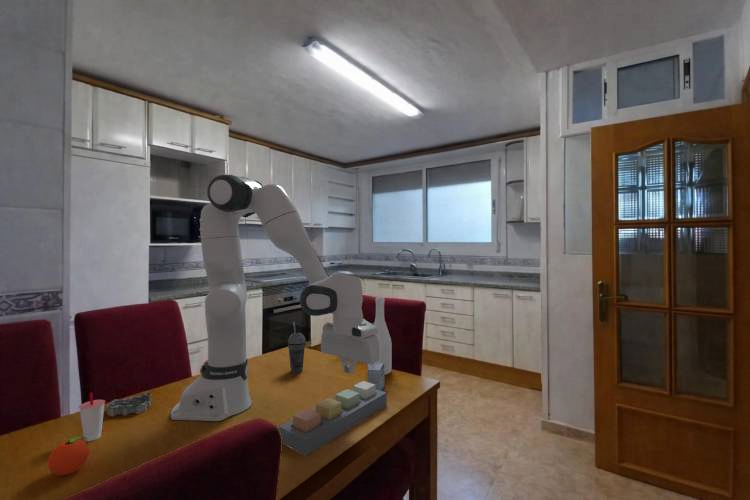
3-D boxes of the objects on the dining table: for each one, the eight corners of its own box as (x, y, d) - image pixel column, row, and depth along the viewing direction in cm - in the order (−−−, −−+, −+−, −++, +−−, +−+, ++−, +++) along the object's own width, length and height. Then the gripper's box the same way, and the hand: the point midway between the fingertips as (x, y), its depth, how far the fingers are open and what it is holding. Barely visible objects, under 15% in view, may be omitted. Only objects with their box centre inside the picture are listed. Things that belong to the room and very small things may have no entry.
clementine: (74, 458, 83) (73, 428, 83) (101, 460, 82) (101, 430, 82) (38, 481, 75) (38, 448, 75) (68, 483, 74) (68, 450, 74)
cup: (75, 445, 88) (75, 398, 88) (83, 435, 93) (83, 390, 93) (101, 440, 91) (101, 394, 90) (108, 430, 96) (107, 386, 95)
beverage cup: (303, 374, 138) (303, 323, 138) (285, 374, 138) (285, 323, 138) (307, 368, 145) (307, 319, 145) (290, 367, 145) (290, 319, 145)
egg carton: (153, 404, 112) (153, 391, 112) (143, 415, 105) (143, 401, 105) (116, 406, 110) (116, 393, 110) (102, 418, 103) (102, 404, 103)
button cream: (365, 401, 107) (365, 389, 107) (353, 396, 110) (353, 385, 110) (375, 395, 111) (375, 384, 111) (363, 391, 114) (363, 380, 114)
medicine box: (380, 396, 119) (380, 370, 118) (367, 394, 119) (367, 369, 119) (384, 386, 126) (384, 362, 126) (372, 385, 127) (372, 361, 127)
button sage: (348, 411, 101) (348, 398, 101) (335, 406, 104) (335, 394, 104) (359, 404, 105) (359, 393, 105) (346, 400, 108) (346, 388, 108)
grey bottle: (364, 369, 144) (364, 296, 144) (385, 366, 147) (386, 295, 147) (372, 377, 135) (373, 299, 135) (395, 374, 139) (395, 298, 138)
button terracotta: (306, 435, 88) (306, 421, 88) (292, 428, 91) (292, 415, 91) (320, 426, 92) (320, 413, 92) (307, 421, 95) (307, 408, 95)
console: (305, 456, 85) (305, 439, 84) (278, 441, 91) (278, 426, 90) (386, 405, 112) (386, 392, 112) (362, 396, 118) (362, 384, 118)
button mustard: (328, 422, 94) (328, 409, 94) (315, 416, 97) (315, 404, 97) (341, 415, 98) (341, 402, 98) (328, 409, 101) (328, 397, 101)
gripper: (315, 323, 108) (316, 368, 108) (368, 332, 95) (369, 383, 96) (330, 319, 113) (330, 362, 113) (382, 328, 100) (382, 376, 101)
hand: (348, 372), depth 104 cm, fingers closed
